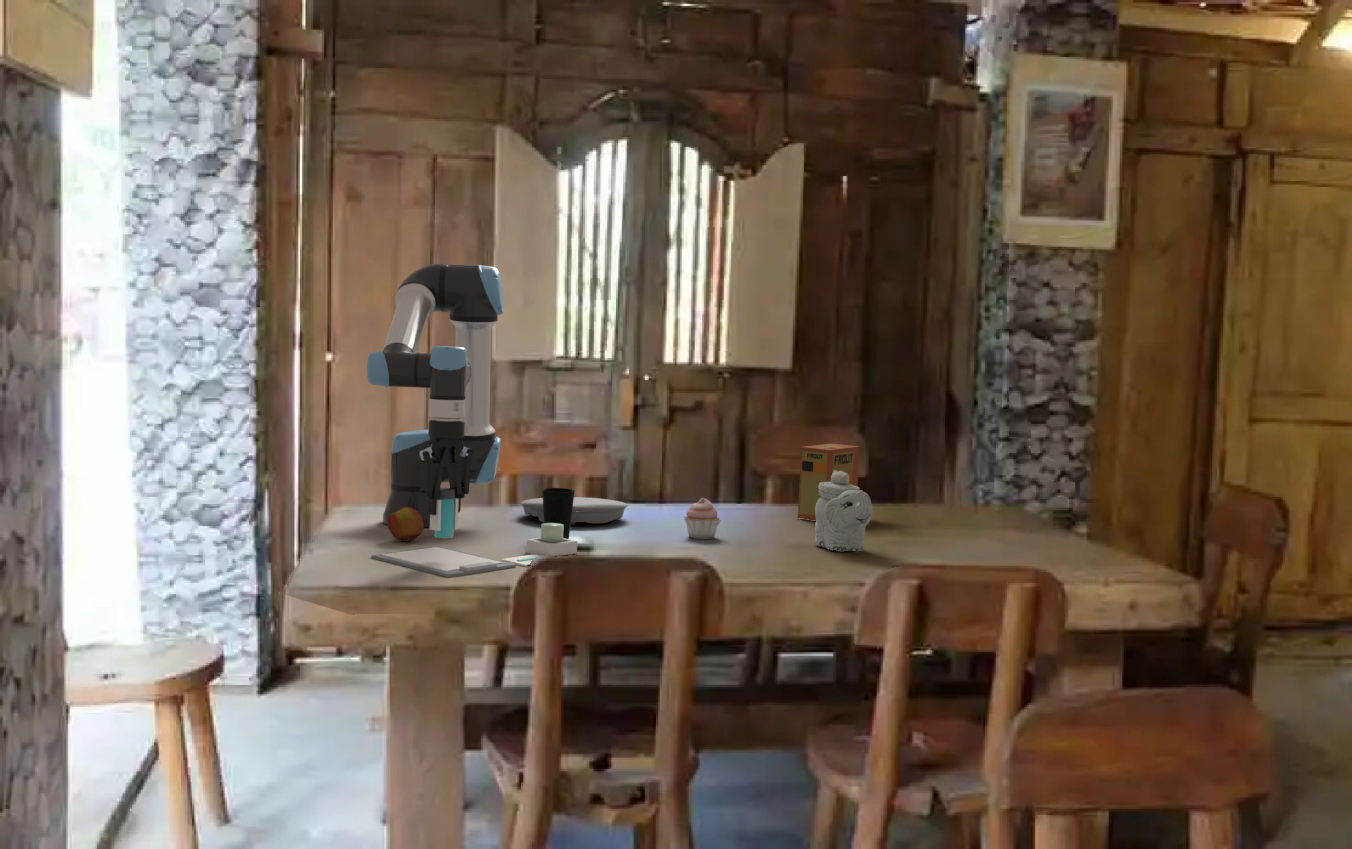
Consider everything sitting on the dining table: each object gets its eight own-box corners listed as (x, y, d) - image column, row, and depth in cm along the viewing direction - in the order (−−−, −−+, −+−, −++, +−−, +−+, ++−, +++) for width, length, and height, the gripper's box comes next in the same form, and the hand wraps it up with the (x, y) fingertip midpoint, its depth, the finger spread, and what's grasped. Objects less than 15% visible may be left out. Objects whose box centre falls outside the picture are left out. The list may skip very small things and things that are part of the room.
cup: (567, 543, 312) (569, 493, 311) (536, 541, 313) (538, 490, 312) (576, 538, 319) (578, 489, 318) (546, 536, 321) (547, 487, 320)
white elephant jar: (867, 558, 309) (872, 478, 308) (804, 552, 314) (808, 473, 312) (878, 547, 325) (882, 471, 323) (817, 541, 329) (821, 466, 328)
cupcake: (674, 536, 328) (676, 496, 327) (699, 533, 335) (701, 493, 334) (702, 542, 322) (704, 501, 321) (727, 538, 329) (729, 498, 328)
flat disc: (647, 520, 353) (648, 504, 352) (585, 532, 329) (585, 515, 329) (563, 510, 368) (563, 494, 367) (497, 521, 344) (498, 503, 344)
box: (827, 513, 378) (831, 443, 377) (855, 517, 373) (859, 446, 372) (797, 519, 365) (801, 446, 363) (826, 523, 360) (830, 450, 358)
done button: (536, 541, 298) (536, 524, 298) (552, 538, 302) (552, 522, 302) (551, 544, 295) (552, 527, 295) (567, 541, 299) (568, 525, 298)
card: (500, 560, 288) (500, 558, 288) (535, 555, 295) (535, 553, 295) (525, 566, 282) (525, 563, 282) (560, 561, 290) (560, 558, 290)
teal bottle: (429, 536, 282) (430, 488, 282) (445, 534, 286) (446, 487, 285) (442, 538, 280) (443, 490, 279) (458, 536, 283) (459, 489, 282)
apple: (409, 537, 312) (410, 503, 311) (429, 542, 306) (429, 508, 306) (381, 540, 307) (382, 505, 306) (400, 545, 301) (401, 510, 300)
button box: (526, 552, 298) (526, 539, 298) (552, 548, 304) (552, 535, 304) (550, 558, 293) (551, 544, 293) (576, 554, 299) (577, 540, 299)
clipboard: (371, 557, 285) (371, 551, 285) (438, 548, 299) (438, 543, 298) (448, 577, 268) (448, 570, 268) (515, 566, 281) (515, 560, 281)
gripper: (425, 421, 272) (422, 535, 274) (489, 419, 285) (486, 527, 286) (403, 419, 277) (400, 530, 279) (466, 416, 290) (463, 523, 291)
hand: (443, 528), depth 282 cm, fingers closed on teal bottle, 4 cm apart
